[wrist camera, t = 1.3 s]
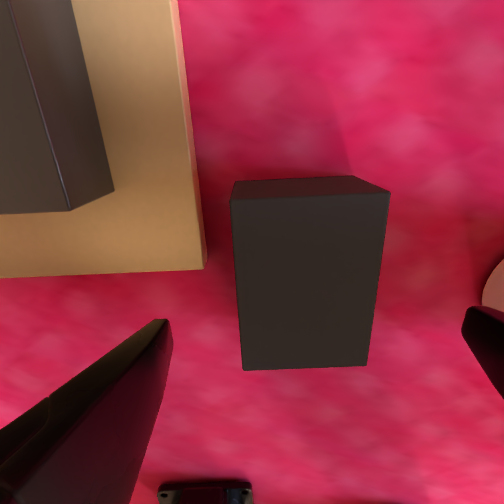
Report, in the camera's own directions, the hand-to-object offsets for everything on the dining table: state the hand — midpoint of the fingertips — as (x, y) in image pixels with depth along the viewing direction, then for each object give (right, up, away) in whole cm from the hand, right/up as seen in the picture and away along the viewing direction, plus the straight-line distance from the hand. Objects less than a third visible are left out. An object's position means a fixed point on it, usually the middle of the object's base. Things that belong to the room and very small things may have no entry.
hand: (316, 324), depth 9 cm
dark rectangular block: (0, +2, +5) cm, 5 cm away
